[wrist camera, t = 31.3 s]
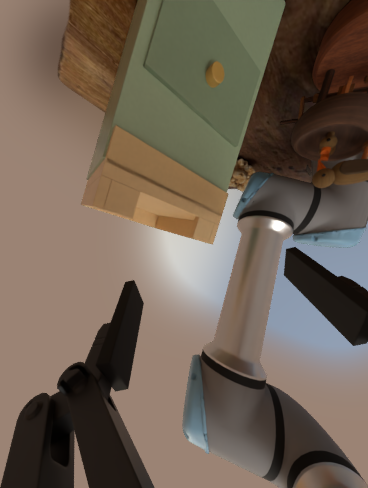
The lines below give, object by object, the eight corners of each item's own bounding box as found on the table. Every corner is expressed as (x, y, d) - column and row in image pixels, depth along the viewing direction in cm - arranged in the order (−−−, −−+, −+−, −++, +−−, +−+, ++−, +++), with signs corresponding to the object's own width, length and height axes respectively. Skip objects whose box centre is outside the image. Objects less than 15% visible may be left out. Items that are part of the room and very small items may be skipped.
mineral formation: (253, 177, 67) (215, 172, 71) (260, 152, 54) (213, 148, 58) (249, 195, 66) (210, 190, 70) (254, 175, 53) (207, 169, 57)
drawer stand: (299, -10, 20) (219, 246, 21) (202, 80, 34) (157, 228, 35) (215, -232, 12) (90, 205, 13) (134, 8, 26) (79, 204, 27)
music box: (517, -107, 12) (418, 173, 14) (452, 38, 20) (393, 206, 22) (285, 28, 23) (245, 178, 25) (301, 89, 31) (270, 200, 33)
